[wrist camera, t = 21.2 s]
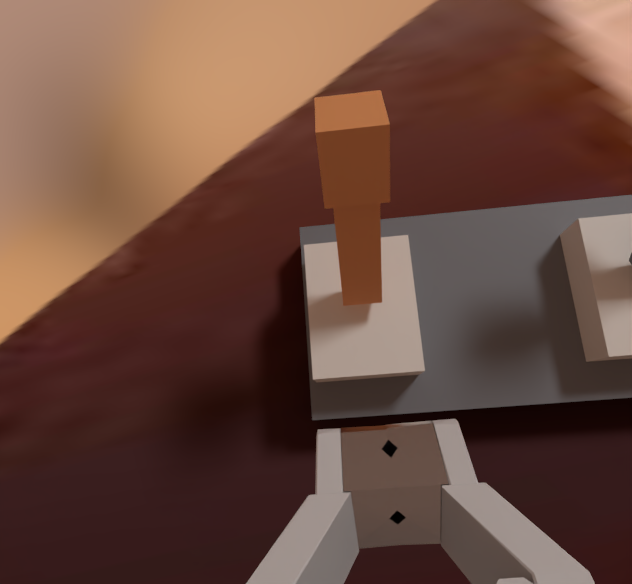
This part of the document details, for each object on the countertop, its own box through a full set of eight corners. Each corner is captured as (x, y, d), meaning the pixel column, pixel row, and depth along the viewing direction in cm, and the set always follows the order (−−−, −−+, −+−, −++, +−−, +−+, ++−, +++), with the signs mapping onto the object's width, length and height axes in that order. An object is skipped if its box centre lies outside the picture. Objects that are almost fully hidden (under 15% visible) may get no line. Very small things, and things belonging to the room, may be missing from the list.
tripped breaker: (383, 272, 32) (380, 90, 23) (390, 312, 29) (389, 124, 21) (335, 276, 32) (314, 97, 23) (337, 317, 29) (315, 132, 21)
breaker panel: (637, 209, 37) (688, 171, 31) (684, 393, 34) (752, 389, 28) (304, 241, 39) (294, 211, 33) (316, 419, 35) (307, 421, 30)
